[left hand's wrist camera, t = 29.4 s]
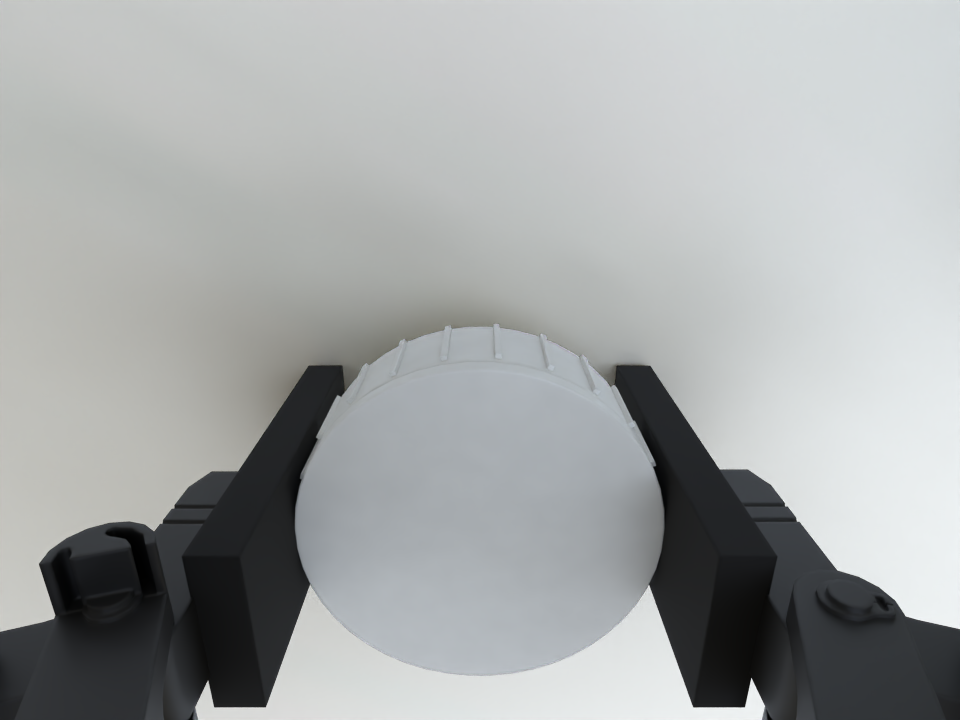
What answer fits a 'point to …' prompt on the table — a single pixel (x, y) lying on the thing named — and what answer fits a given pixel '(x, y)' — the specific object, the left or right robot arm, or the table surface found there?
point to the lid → (479, 504)
